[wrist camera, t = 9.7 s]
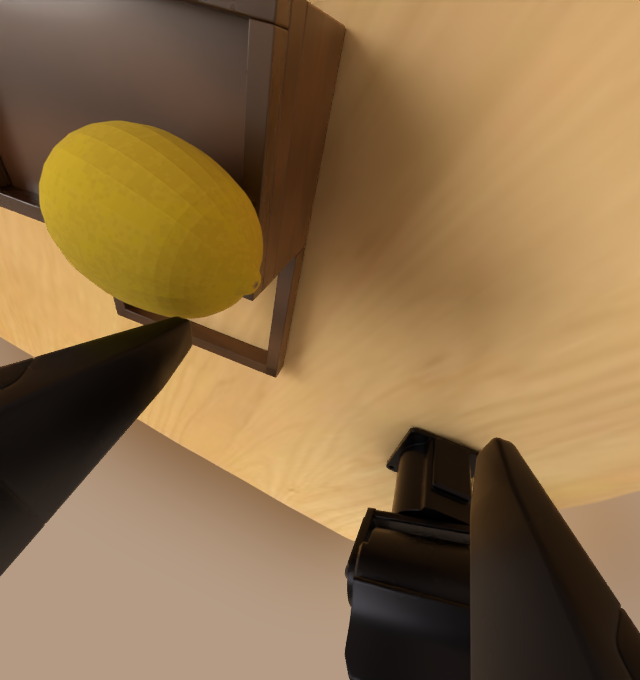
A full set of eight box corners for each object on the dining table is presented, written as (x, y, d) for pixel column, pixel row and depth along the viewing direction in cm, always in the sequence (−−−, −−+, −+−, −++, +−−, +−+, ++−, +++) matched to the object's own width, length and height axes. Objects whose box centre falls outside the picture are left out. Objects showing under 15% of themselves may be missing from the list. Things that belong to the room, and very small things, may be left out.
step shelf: (283, 366, 27) (242, 432, 22) (130, 305, 29) (58, 353, 23) (346, 26, 13) (278, -19, 8) (47, -52, 15) (-172, -132, 10)
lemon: (140, 91, 12) (322, 191, 11) (139, 230, 15) (277, 317, 14) (-65, 52, 7) (209, 215, 6) (-3, 260, 11) (183, 391, 10)
